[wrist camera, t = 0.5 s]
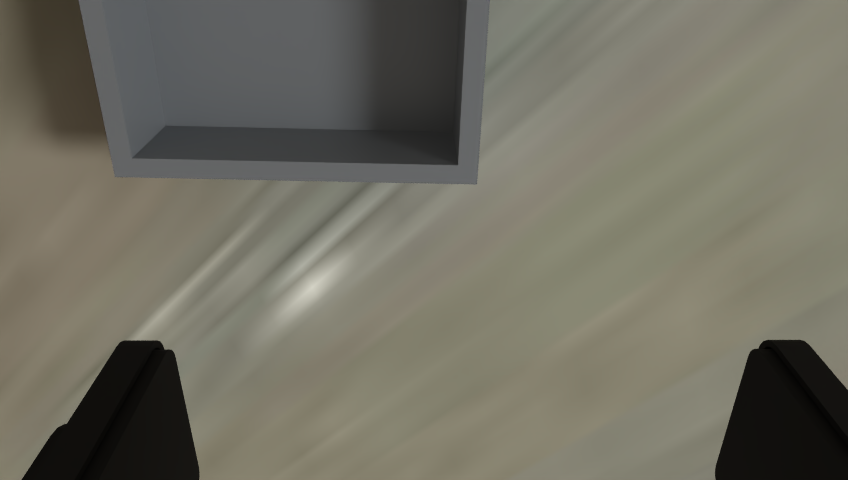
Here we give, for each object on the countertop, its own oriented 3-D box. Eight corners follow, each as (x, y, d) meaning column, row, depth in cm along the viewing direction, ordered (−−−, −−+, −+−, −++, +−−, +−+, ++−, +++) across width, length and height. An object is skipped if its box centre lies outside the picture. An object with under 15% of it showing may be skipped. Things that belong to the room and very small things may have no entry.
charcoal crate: (100, -194, 31) (35, -210, 26) (488, -182, 31) (503, -195, 26) (156, 136, 38) (114, 176, 33) (468, 143, 39) (476, 184, 34)
